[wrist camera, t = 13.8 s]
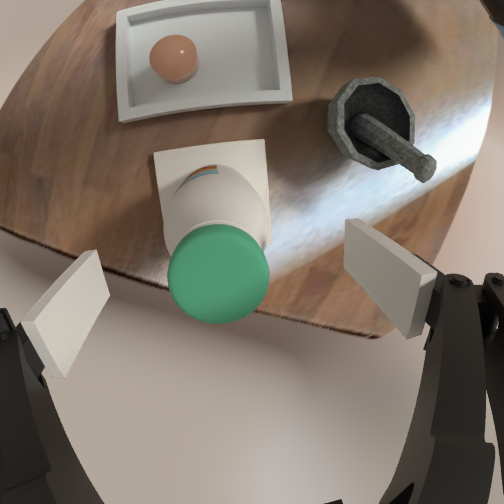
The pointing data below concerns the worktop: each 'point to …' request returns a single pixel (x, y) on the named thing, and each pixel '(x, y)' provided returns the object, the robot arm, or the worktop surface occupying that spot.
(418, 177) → the mortar and pestle
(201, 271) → the milk bottle
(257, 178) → the pad
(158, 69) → the pinkish brown rounded cylinder
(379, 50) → the worktop surface
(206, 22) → the tray
